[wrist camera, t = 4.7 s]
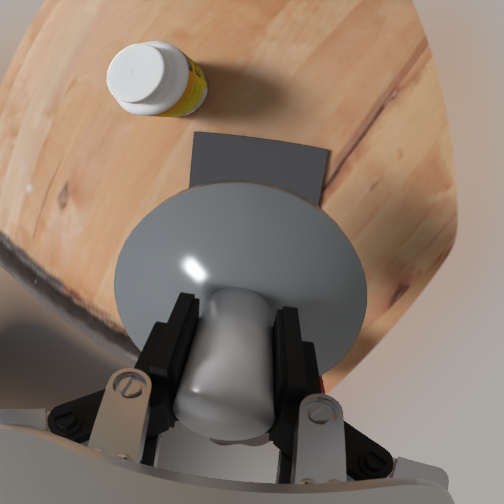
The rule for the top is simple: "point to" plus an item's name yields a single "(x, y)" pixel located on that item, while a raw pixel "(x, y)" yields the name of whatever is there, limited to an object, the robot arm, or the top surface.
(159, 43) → the supplement bottle
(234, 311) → the lid
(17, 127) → the top surface
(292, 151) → the mat
